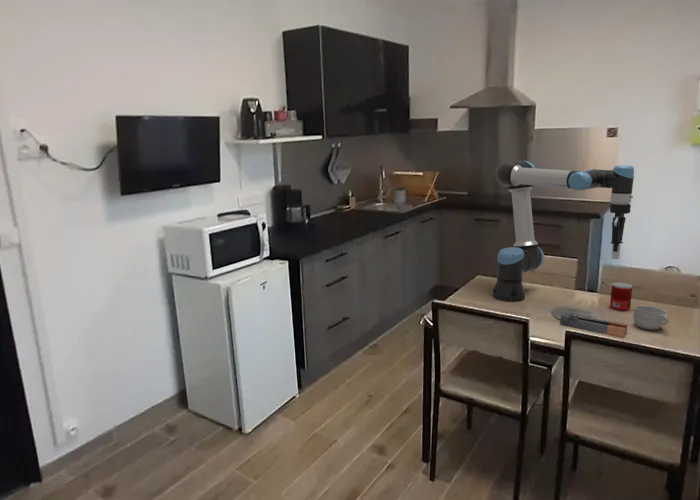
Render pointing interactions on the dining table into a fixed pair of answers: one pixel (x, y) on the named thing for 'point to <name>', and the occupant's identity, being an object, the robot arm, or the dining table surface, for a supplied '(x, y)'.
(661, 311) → the teacup
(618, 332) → the tongs base
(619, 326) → the arm
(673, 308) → the dining table surface
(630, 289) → the canned food
